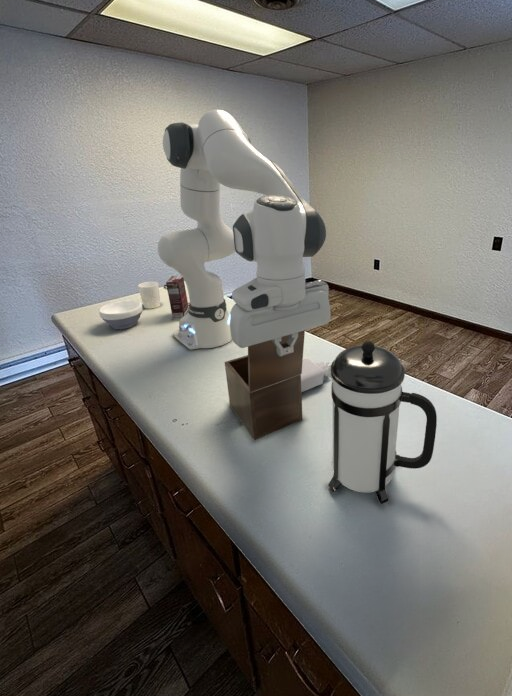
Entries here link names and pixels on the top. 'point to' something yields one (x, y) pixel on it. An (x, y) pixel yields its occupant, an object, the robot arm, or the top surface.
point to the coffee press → (371, 419)
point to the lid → (273, 363)
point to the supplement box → (177, 297)
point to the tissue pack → (312, 374)
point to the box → (263, 400)
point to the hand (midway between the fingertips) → (285, 353)
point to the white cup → (150, 294)
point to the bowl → (121, 313)
